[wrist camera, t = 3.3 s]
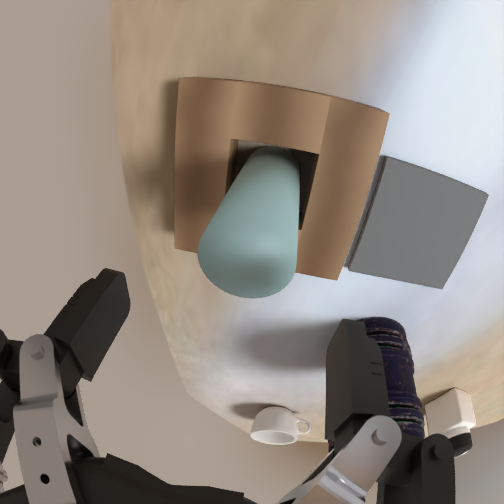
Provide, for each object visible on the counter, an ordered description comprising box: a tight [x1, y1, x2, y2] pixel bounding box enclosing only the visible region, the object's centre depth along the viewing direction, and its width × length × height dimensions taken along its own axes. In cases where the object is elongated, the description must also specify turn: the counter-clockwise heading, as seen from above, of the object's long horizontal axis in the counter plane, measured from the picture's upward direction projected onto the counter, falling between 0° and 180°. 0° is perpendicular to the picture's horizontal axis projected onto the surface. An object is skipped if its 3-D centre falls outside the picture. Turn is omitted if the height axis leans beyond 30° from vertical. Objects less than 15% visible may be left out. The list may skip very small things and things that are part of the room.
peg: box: [198, 146, 300, 298], centre depth 18 cm, size 4×4×12 cm
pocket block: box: [174, 77, 390, 280], centre depth 21 cm, size 14×14×3 cm
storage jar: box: [328, 317, 425, 453], centre depth 26 cm, size 10×10×15 cm
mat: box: [348, 156, 489, 289], centre depth 23 cm, size 11×11×1 cm
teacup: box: [250, 406, 311, 445], centre depth 43 cm, size 10×8×5 cm
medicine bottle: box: [425, 388, 476, 458], centre depth 34 cm, size 7×7×12 cm
